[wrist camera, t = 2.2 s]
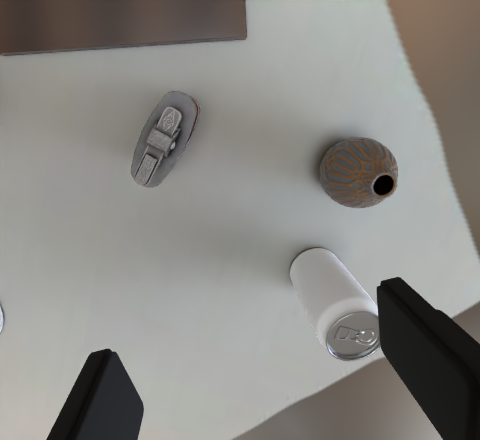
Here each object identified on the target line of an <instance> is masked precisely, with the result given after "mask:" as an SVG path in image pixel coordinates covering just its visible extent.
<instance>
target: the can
mask: <svg viewBox="0 0 480 440" xmlns="http://www.w3.org/2000/svg"><path fill="white" fill-rule="evenodd" d="M290 278H291V281H292V283H293V286H294V288H295V290H296V292H297V295H298V297H299V299H300V301H301V304H302V306H303V308H304V310H305V312H306V315H307V317H308V319H309V321H310V323H311V325H312V328H313V330H314V332H315V334H316V336H317V338H318V340H319V341H320V343H321V344H322V345H323V346H324V347H326V348H327V349H328V351H329V353H330V354H331V355H332V356H334V357H335V358H337V359H340V360H344V361H356V360H360V359H363V358H366V357H368V356H370V355H371V354H373V353H374V352H375V351H377V350H378V349H379V348H380V336H379V320H378V307H377V305H376V304H375V303H374V301H373V300H372V299H371V298H370V296H369V295H368V294H367V293H366V292H365V290H364V289H363V288H362V287H361V286H360V284H359V283H358V282H357V281H356V280H355V278H354V277H353V276H352V275H351V274H350V272H349V271H348V270H347V269H346V268H345V266H344V265H343V264H342V263H341V262H340V260H339V259H338V258H337V257H336V256H335V255H334V254H333V253H332V252H330V251H329V250H326V249H322V248H314V249H310V250H307V251H305V252H303V253H301V254H300V255H299V256H298V257H297V258H296V259H295V260H294V262H293V263H292V265H291V268H290Z"/></svg>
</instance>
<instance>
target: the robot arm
mask: <svg viewBox="0 0 480 440" xmlns="http://www.w3.org/2000/svg"><path fill="white" fill-rule="evenodd" d="M377 304H378V320H379V336H380V346H381V349H382V351H383V353H384V355H385V356H386V358H387V359H388V361H389V362H390V364H391V365H392V366H393V368H394V369H395V371H396V372H397V374H398V375H399V377H400V378H401V379H402V381H403V382H404V384H405V385H406V387H407V388H408V390H409V391H410V392H411V394H412V395H413V397H414V398H415V400H416V401H417V402H418V404H419V405H420V407H421V408H422V410H423V411H424V413H425V414H426V415H427V417H428V418H429V420H430V421H431V423H432V424H433V425H434V427H435V428H436V430H437V431H438V433H439V434H440V435H441V437H442V438H443V440H480V344H479V343H478V342H477V341H475V340H474V339H473V338H472V337H471V336H470V335H469V334H468V333H466V332H465V331H464V330H463V329H462V328H461V327H460V326H459V325H457V324H456V323H455V322H454V321H453V320H452V319H451V318H450V317H448V316H447V315H446V314H445V313H443V312H442V311H440V310H436V309H434V308H433V307H432V306H431V305H430V304H429V303H428V302H427V301H426V300H424V299H423V298H422V297H421V296H420V295H419V294H418V293H417V292H416V291H415V290H413V289H412V288H411V287H410V286H409V285H408V284H407V283H406V282H405V281H404V280H402V279H401V278H400V277H396V278H391V279H387V280H383V281H381V284H380V286H378V287H377ZM2 328H3V313H2V310H1V307H0V332H1V330H2ZM143 412H144V407H143V402H142V400H141V398H140V396H139V394H138V393H137V391H136V389H135V387H134V385H133V383H132V381H131V379H130V377H129V375H128V373H127V372H126V370H125V368H124V366H123V364H122V362H121V360H120V358H119V356H118V354H117V353H116V352H112V351H111V350H110V349H104V350H100V351H96V352H92V353H91V354H90V355H89V356H88V358H87V360H86V362H85V364H84V366H83V368H82V370H81V372H80V374H79V376H78V378H77V380H76V382H75V384H74V386H73V388H72V390H71V392H70V394H69V396H68V398H67V400H66V402H65V404H64V406H63V408H62V410H61V412H60V414H59V416H58V418H57V420H56V422H55V424H54V426H53V428H52V430H51V432H50V434H49V436H48V438H47V439H46V440H137V439H138V435H139V431H140V426H141V422H142V418H143Z"/></svg>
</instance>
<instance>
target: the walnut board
mask: <svg viewBox="0 0 480 440" xmlns="http://www.w3.org/2000/svg"><path fill="white" fill-rule="evenodd" d="M246 37H247V26H246V9H245V0H0V55H4V56H8V55H23V54H37V53H52V52H66V51H81V50H95V49H110V48H124V47H139V46H153V45H168V44H182V43H197V42H211V41H226V40H240V39H246Z"/></svg>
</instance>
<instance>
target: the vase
mask: <svg viewBox="0 0 480 440" xmlns="http://www.w3.org/2000/svg"><path fill="white" fill-rule="evenodd" d="M319 175H320V181H321V184H322V187H323V189H324V190H325V192H326V193H327V194H328V195H329V196H330V197H331V198H332V199H333V200H334V201H336V202H337V203H339V204H341V205H344V206H347V207H352V208H365V207H370V206H373V205H376V204H378V203H380V202H381V201H383V200H384V199H385V198H387V197H389V196H391V195H392V194H393V193H394V191H395V190H396V188H397V177H398V167H397V163H396V160H395V158H394V156H393V155H392V153H391V152H390V151H389V150H388V149H387V148H386V147H385V146H384V145H382V144H381V143H379V142H377V141H375V140H372V139H369V138H361V137H355V138H349V139H345V140H342V141H340V142H338V143H337V144H335V145H334V146H332V147H331V148H330V149H329V150H328V151H327V153H326V154H325V155H324V157H323V159H322V161H321V164H320V170H319Z"/></svg>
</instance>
